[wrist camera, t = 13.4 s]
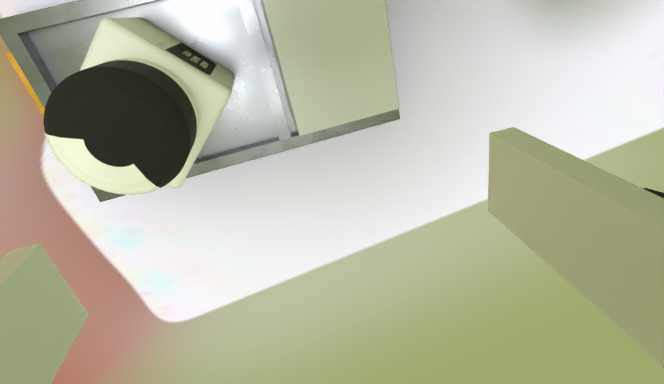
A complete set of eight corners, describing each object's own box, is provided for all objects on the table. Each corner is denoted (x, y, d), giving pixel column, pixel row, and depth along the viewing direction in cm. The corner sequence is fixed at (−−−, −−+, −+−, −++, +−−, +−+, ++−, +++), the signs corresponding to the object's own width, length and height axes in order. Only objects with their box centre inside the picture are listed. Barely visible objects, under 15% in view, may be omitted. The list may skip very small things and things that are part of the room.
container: (138, 14, 26) (54, 16, 15) (236, 74, 30) (228, 113, 18) (97, 106, 29) (-5, 169, 17) (193, 153, 32) (160, 233, 20)
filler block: (260, 0, 28) (262, -3, 22) (356, -23, 28) (380, -32, 23) (291, 115, 32) (299, 135, 27) (374, 92, 32) (399, 108, 27)
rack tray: (10, 21, 27) (-16, 22, 24) (363, -62, 29) (375, -70, 26) (106, 188, 33) (94, 203, 31) (388, 110, 35) (399, 118, 33)
